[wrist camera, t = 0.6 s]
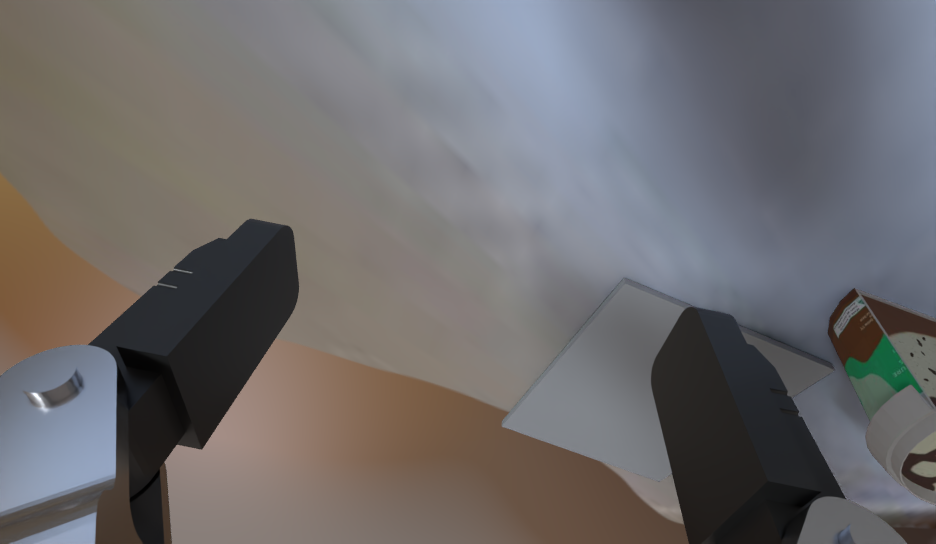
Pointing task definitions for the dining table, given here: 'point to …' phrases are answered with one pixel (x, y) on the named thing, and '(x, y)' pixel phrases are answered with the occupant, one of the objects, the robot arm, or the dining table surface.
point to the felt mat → (627, 382)
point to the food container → (892, 383)
